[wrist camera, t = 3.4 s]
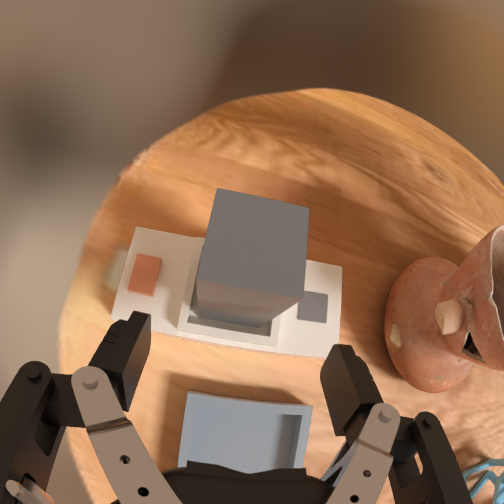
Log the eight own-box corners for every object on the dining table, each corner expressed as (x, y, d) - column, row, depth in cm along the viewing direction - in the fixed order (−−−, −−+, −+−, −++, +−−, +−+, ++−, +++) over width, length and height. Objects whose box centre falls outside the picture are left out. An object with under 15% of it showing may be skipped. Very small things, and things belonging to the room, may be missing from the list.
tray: (188, 389, 21) (187, 392, 19) (304, 403, 22) (312, 406, 20) (175, 489, 17) (173, 498, 15) (287, 498, 18) (293, 507, 16)
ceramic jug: (364, 409, 23) (484, 422, 10) (352, 266, 28) (450, 195, 15) (471, 372, 26) (559, 355, 13) (457, 267, 31) (536, 223, 18)
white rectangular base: (328, 276, 27) (348, 262, 23) (322, 359, 24) (343, 357, 20) (142, 240, 25) (133, 219, 22) (120, 324, 22) (105, 316, 18)
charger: (266, 270, 23) (309, 206, 14) (258, 327, 21) (303, 298, 12) (209, 259, 23) (217, 186, 14) (198, 317, 21) (196, 279, 12)
